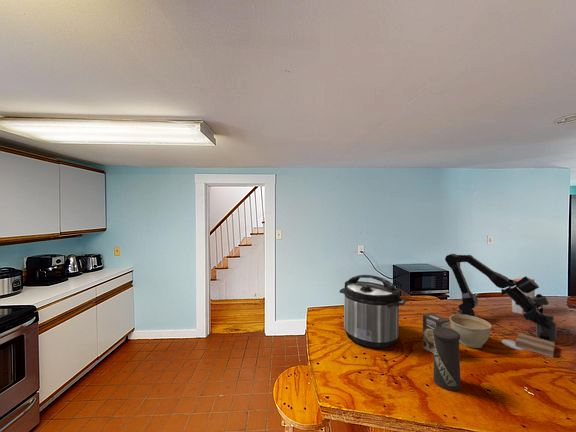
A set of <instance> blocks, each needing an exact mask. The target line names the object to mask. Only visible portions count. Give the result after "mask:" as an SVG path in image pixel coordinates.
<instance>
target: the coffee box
mask: <svg viewBox="0 0 576 432" xmlns="http://www.w3.org/2000/svg"><path fill="white" fill-rule="evenodd" d="M436 327H446V328H450V329H451V323H450V318H449V319H448V318H447V317H443V316H441V315H439V314H437V313H434V312H428V313H427V312H426V313H423V314H422V348H423V349H424V350H426V351H427V352H429V351H430V353H431V352H432V353H431V354H433V355H434V334H433V329H434V328H436Z"/></svg>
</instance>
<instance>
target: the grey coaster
mask: <svg viewBox="0 0 576 432" xmlns="http://www.w3.org/2000/svg"><path fill="white" fill-rule="evenodd" d="M515 341H516V340H512V339H502V340H501V343H502V344H503V345H504V346H507V347H509V348H511V349H514V350H519V351H527V350H526V349H523V348H519V347H516V344H515Z"/></svg>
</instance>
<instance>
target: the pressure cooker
mask: <svg viewBox="0 0 576 432" xmlns="http://www.w3.org/2000/svg"><path fill="white" fill-rule="evenodd" d="M362 278H363V279H368V278H369V279H374V280H377V281H372V280H371V281H369V280H367V281H366V280H360V279H362ZM339 293H340V294H343V297H344V299H343V301H344V302H343V305H344V306H343V307H344V308H343V309H344V311H343V329H344V331H345V334H346V336H349V337H350V338H351V340H353V341H354V343H357V344H359V345H362V346H366V347H368V348H369V347H370V348H387V347H390V346H391V347H392V346H393V345H394V344H396V342H397V341H398V339H399V335H400V334H399V331H400V330H399V329H400V328H399V324H400V323H399V322H400V321H399V319H400V318H399V316H400V315H399V314H400V313H399V312H400V310H399V309H400V308H399V307H400V306H405V304H406V302H407V301H406V299H404V298H401V289H400V288H397V287H396V286H395V284H393V283H392V282H391V281H389V280H388V279H385V278H383V277H379V276H376V275H373V274H359V275H355V276H351V278H349V279H348V280H346V281H345V282H344V287H343V288H341V289H340V290H339Z"/></svg>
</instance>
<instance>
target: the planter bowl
mask: <svg viewBox="0 0 576 432" xmlns="http://www.w3.org/2000/svg"><path fill="white" fill-rule="evenodd" d="M449 320H450V329H453V330H455V331H457V332H458V333H459V334H460V340H459V344H461V345H463V346H465V347H469V348H472V349H481V348H483V347H484V344H486V342H487V341H488V340H489V338H490V335H491V332H492V331H491V330H492V324H491V323H490V322H488V321H487V320H485V319H483V318H480V317H477V316H475V317H474V316H468V315H459V314H453V315H452V314H451V316H449Z"/></svg>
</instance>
